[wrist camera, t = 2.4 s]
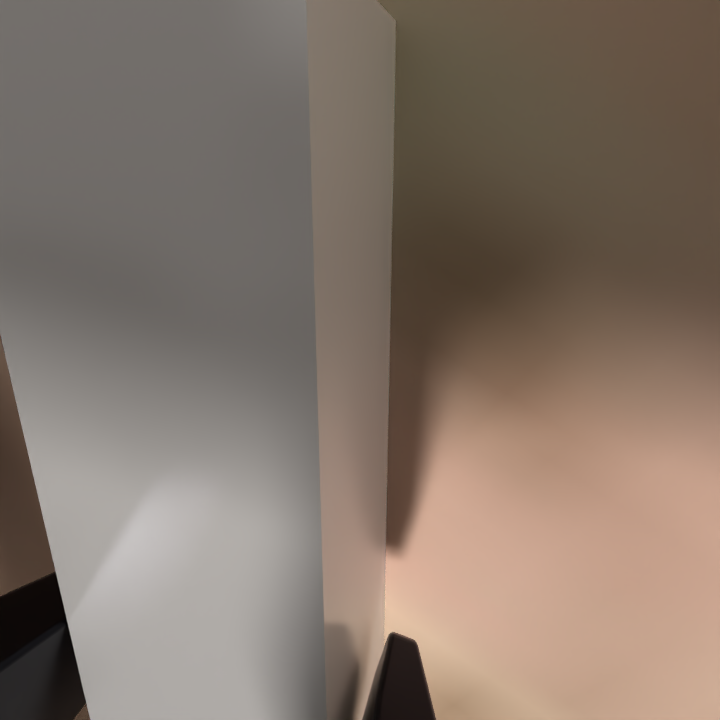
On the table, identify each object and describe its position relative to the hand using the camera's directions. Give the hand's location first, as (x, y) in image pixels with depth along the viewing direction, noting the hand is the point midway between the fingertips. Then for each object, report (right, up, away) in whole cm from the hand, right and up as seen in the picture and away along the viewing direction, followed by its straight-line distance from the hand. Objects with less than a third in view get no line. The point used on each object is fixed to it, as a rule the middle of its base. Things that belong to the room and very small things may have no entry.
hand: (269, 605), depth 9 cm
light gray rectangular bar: (0, +1, +1) cm, 2 cm away
